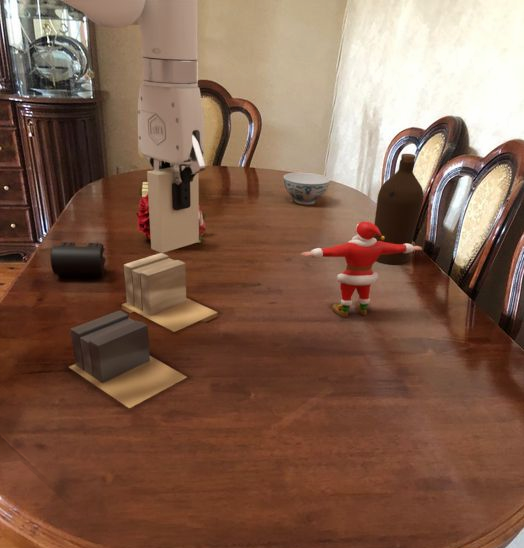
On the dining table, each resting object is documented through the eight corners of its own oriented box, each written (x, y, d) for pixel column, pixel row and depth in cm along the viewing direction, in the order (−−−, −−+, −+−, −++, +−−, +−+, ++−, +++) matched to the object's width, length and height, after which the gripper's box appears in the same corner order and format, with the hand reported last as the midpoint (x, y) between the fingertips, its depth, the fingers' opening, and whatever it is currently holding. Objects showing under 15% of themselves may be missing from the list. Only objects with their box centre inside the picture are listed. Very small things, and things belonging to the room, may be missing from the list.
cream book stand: (121, 309, 101) (117, 265, 96) (165, 292, 108) (163, 250, 104) (174, 336, 93) (172, 290, 88) (217, 316, 100) (218, 273, 96)
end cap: (53, 282, 110) (48, 251, 106) (61, 268, 116) (57, 239, 112) (102, 282, 111) (99, 252, 107) (108, 269, 117) (105, 240, 113)
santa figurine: (400, 302, 111) (418, 214, 101) (414, 314, 106) (435, 224, 96) (288, 311, 104) (297, 219, 94) (298, 325, 99) (308, 229, 90)
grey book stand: (69, 372, 82) (62, 330, 78) (126, 346, 89) (123, 307, 85) (129, 413, 74) (125, 369, 70) (187, 382, 81) (186, 340, 77)
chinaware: (297, 210, 165) (300, 185, 161) (273, 197, 176) (274, 174, 172) (336, 205, 172) (339, 181, 168) (310, 194, 183) (312, 171, 179)
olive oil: (411, 268, 128) (435, 161, 115) (368, 263, 129) (386, 157, 116) (408, 253, 137) (429, 152, 124) (367, 248, 138) (384, 148, 125)
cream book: (151, 248, 83) (146, 171, 77) (188, 238, 89) (187, 164, 83) (161, 253, 82) (158, 174, 76) (199, 242, 87) (198, 167, 81)
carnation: (169, 235, 160) (185, 274, 131) (118, 196, 151) (123, 228, 122) (201, 195, 157) (225, 226, 128) (152, 152, 148) (165, 175, 119)
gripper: (112, 68, 74) (122, 198, 84) (190, 80, 66) (192, 223, 75) (153, 68, 79) (159, 191, 89) (231, 79, 71) (228, 213, 80)
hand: (174, 205), depth 82 cm, fingers closed on cream book, 2 cm apart
